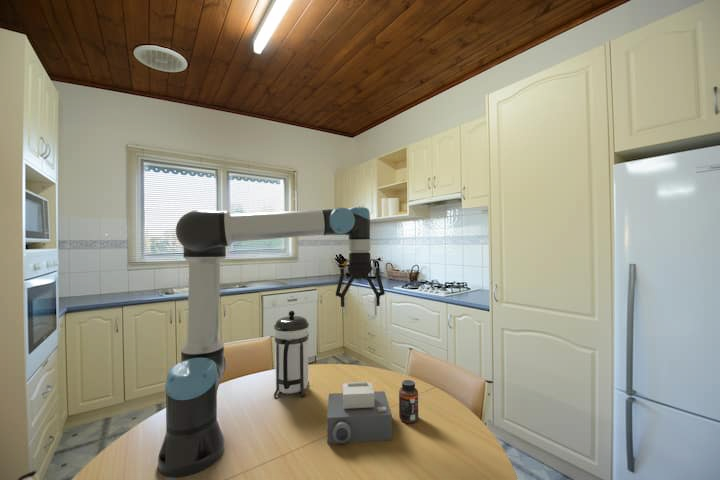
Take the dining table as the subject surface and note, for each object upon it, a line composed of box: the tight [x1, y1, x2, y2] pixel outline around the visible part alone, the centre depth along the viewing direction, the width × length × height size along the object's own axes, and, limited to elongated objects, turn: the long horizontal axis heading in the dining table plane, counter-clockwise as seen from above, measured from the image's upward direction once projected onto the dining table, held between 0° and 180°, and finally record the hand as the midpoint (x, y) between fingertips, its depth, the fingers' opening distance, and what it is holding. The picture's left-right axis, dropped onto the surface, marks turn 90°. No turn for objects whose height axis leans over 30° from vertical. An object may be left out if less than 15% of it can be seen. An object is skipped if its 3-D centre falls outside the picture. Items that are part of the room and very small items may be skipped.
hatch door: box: [342, 381, 375, 409], centre depth 93 cm, size 9×7×5 cm
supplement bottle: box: [398, 379, 419, 424], centre depth 97 cm, size 6×6×11 cm
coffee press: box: [273, 310, 310, 399], centre depth 116 cm, size 17×16×30 cm
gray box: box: [326, 390, 393, 444], centre depth 92 cm, size 18×16×8 cm
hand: (360, 315), depth 109 cm, fingers open, 10 cm apart
